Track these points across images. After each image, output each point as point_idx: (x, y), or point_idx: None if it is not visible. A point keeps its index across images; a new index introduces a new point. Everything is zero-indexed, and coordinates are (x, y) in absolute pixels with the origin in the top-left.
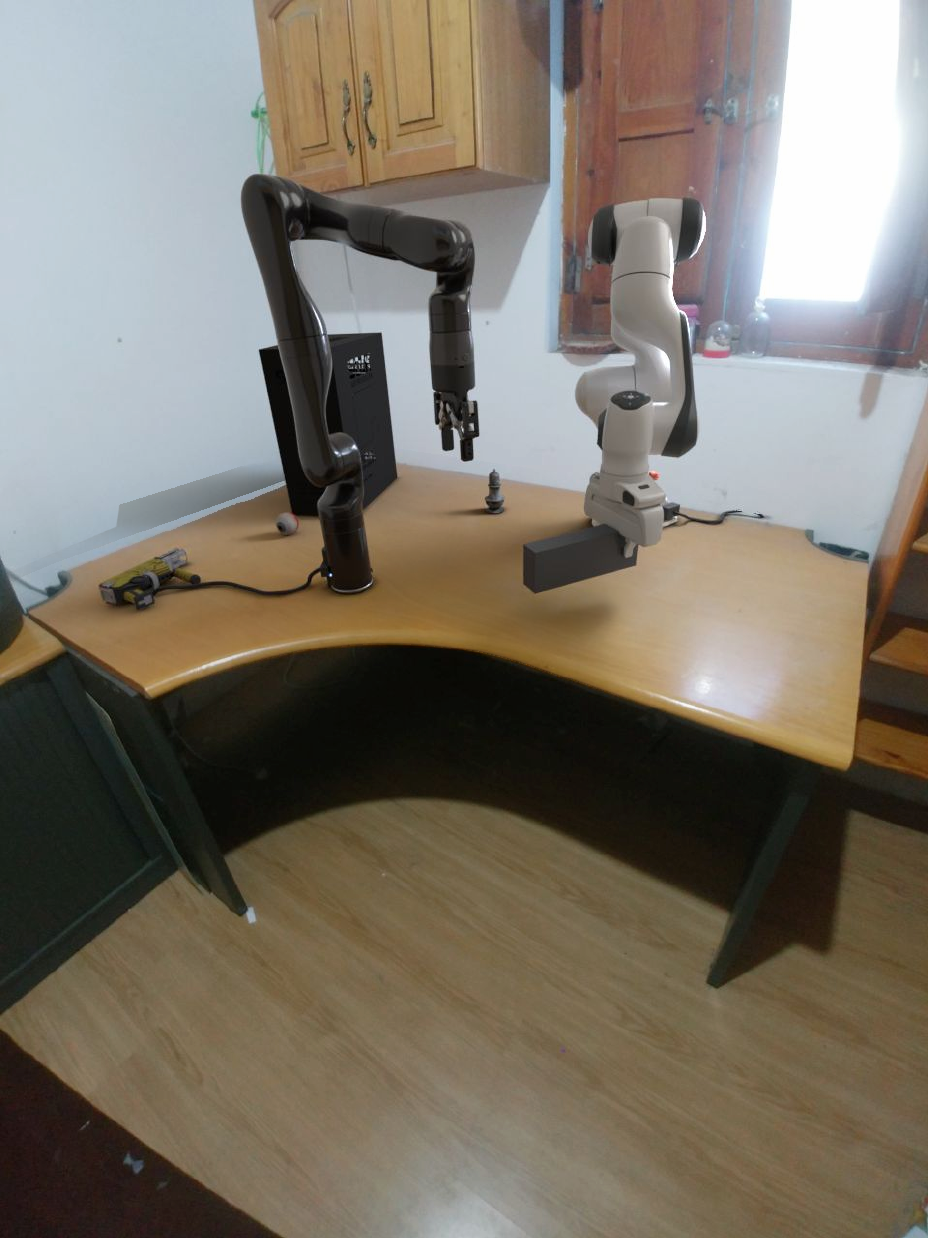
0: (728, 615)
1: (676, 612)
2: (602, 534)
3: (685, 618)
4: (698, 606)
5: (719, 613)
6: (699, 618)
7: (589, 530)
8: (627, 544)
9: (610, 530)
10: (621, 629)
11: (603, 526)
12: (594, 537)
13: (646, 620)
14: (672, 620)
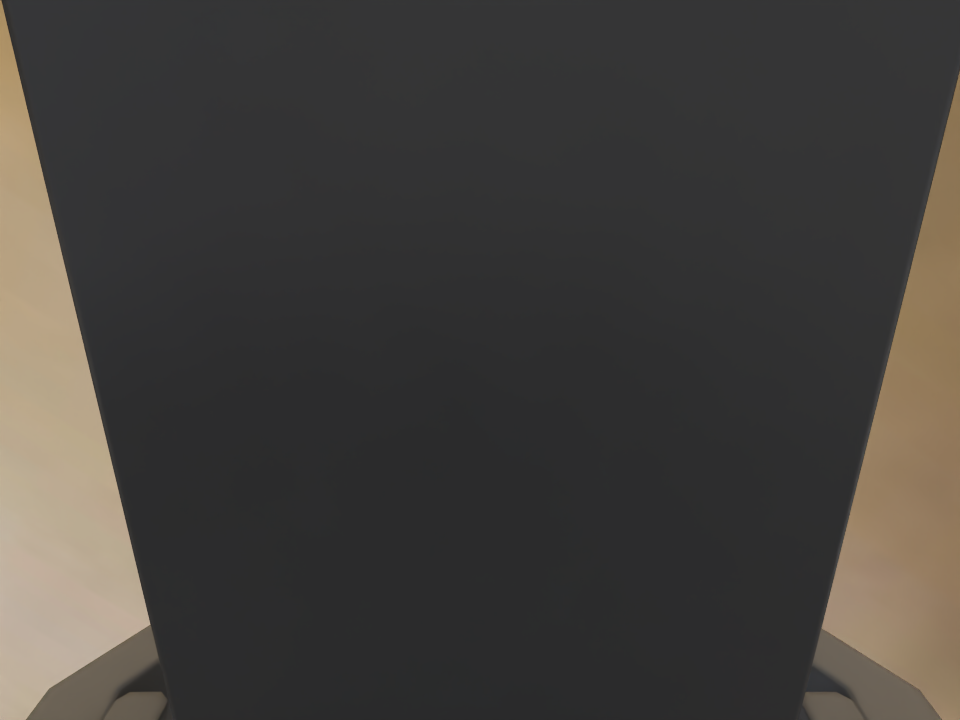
0: (4, 680)
1: (112, 509)
2: (170, 413)
3: (33, 507)
4: (136, 630)
5: (35, 661)
6: (12, 562)
7: (680, 241)
8: (115, 666)
9: (336, 715)
10: (5, 88)
11: (655, 717)
12: (30, 17)
13: (75, 313)
14: (31, 439)
